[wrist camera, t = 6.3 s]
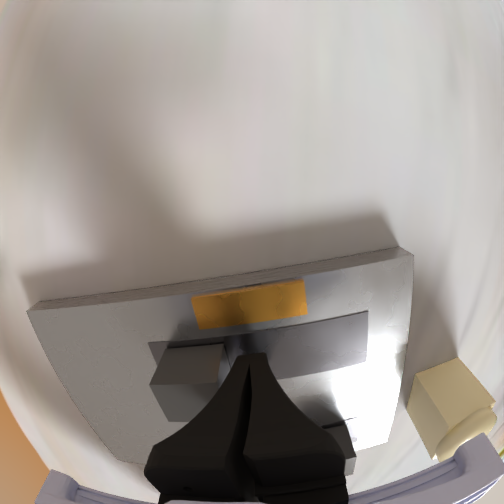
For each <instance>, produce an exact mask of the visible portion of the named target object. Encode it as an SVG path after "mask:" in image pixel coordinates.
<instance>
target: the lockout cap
mask: <svg viewBox="0 0 504 504" xmlns="http://www.w3.org/2000/svg"><path fill="white" fill-rule="evenodd" d="M495 402H496V401H495V400H494V399H493V397H492V396H491V395H490V394H489V393H488V391H487V390H486V389H485V388H484V387H483V385H482V384H481V383H480V382H479V381H478V379H477V378H476V377H475V376H474V375H473V374H472V372H471V371H470V370H469V369H468V368H467V367H466V366H465V364H464V363H463V362H462V361H461V360H460V359H459V358H458V357H457V358H455V359H452V360H450V361H447V362H445V363H442V364H440V365H437V366H435V367H432V368H430V369H427V370H424V371H421V372H419V373H416V374H415V376H414V380H413V385H412V389H411V393H410V397H409V401H408V405H407V409H406V410H407V412H408V414H409V416H410V418H411V420H412V422H413V423H414V425H415V427H416V429H417V431H418V433H419V435H420V437H421V439H422V441H423V443H424V445H425V447H426V449H427V451H428V453H429V455H430V457H431V459H432V460H433V459H435V458H438V460H439V462H442V461H444V460H446V459H448V458H450V457H452V456H453V455H454V453H455V451H456V450H457V448H458V447H459V446H461V445H462V444H463V443H465V442H467V441H468V440H470V439H472V438H474V437H475V436H477V435H479V434H480V433H482V432H484V433H485V435H486V436H487V435H488V433H489V432H490V431H491V429H492V428H493V426H494V425H495V423H496V420H497V416H496V415H495V413H494V412H493V411H492V408H493V406H494V404H495Z"/></svg>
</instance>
